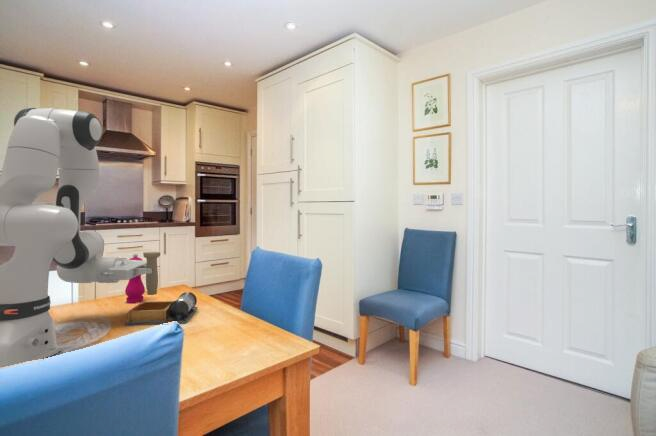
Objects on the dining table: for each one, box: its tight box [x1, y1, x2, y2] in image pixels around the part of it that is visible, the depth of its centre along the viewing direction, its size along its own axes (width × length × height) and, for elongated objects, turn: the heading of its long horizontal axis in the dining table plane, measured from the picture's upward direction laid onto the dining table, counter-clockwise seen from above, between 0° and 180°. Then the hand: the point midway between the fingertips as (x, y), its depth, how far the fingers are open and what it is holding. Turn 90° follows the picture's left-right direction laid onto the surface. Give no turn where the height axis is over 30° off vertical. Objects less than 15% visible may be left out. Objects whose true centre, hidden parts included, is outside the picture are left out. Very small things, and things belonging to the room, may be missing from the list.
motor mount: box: [124, 291, 198, 327], centre depth 124 cm, size 18×19×7 cm
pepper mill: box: [124, 253, 146, 304], centre depth 145 cm, size 7×7×20 cm
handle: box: [142, 251, 161, 296], centre depth 124 cm, size 5×6×15 cm
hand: (154, 269), depth 124 cm, fingers closed on handle, 3 cm apart
